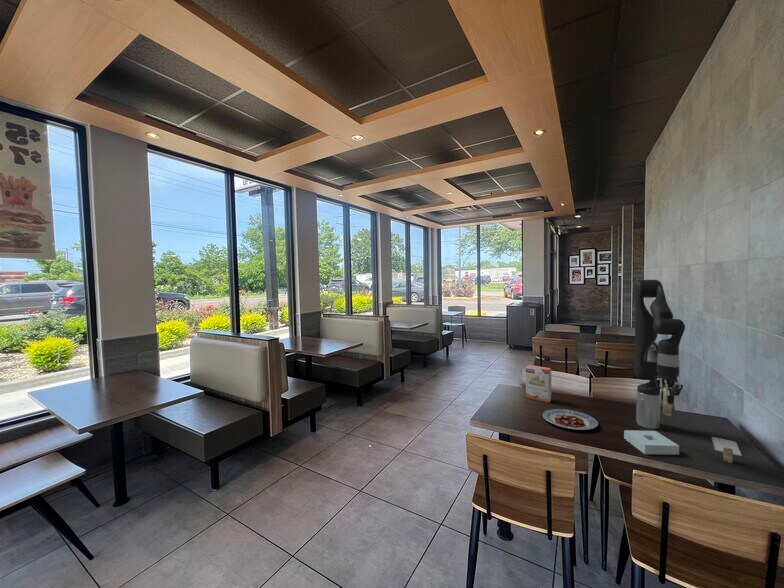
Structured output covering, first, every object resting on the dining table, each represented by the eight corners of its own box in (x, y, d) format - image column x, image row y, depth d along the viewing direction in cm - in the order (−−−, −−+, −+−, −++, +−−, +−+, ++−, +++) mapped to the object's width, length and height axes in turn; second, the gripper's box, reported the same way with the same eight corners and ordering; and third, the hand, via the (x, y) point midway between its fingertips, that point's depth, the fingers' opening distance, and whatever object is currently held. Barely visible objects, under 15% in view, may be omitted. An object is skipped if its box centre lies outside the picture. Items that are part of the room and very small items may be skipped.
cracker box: (525, 398, 210) (525, 366, 209) (528, 395, 214) (528, 364, 214) (548, 403, 201) (548, 369, 200) (551, 400, 205) (551, 367, 204)
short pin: (721, 458, 137) (721, 447, 136) (728, 459, 136) (728, 447, 136) (727, 462, 134) (727, 450, 134) (734, 462, 134) (734, 450, 133)
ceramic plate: (606, 435, 159) (606, 429, 159) (550, 431, 164) (550, 425, 164) (586, 414, 184) (586, 409, 184) (537, 411, 189) (537, 406, 189)
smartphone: (715, 449, 143) (711, 436, 155) (715, 451, 143) (711, 438, 155) (742, 456, 138) (736, 441, 149) (742, 458, 138) (736, 443, 149)
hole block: (624, 438, 155) (624, 430, 155) (655, 439, 154) (655, 430, 154) (644, 454, 141) (644, 445, 141) (679, 454, 140) (679, 445, 140)
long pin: (661, 413, 146) (661, 386, 146) (667, 413, 146) (668, 386, 146) (666, 415, 144) (666, 389, 143) (673, 415, 143) (673, 389, 143)
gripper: (647, 360, 151) (647, 396, 152) (672, 368, 137) (671, 408, 138) (664, 359, 151) (663, 396, 151) (690, 368, 137) (689, 408, 137)
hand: (667, 402), depth 145 cm, fingers closed on long pin, 2 cm apart
